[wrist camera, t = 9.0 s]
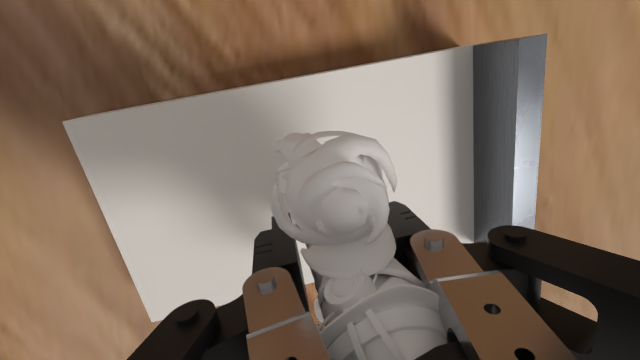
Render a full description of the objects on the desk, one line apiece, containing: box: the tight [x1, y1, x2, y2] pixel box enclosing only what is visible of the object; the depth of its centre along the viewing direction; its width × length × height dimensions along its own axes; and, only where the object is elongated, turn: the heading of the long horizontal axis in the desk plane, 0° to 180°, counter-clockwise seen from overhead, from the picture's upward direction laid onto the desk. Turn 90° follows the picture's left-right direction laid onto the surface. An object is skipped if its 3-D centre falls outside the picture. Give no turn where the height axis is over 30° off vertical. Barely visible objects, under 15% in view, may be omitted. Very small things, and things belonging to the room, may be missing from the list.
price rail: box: [473, 34, 547, 243], centre depth 16 cm, size 11×1×3 cm, turn 10°
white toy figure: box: [271, 131, 447, 360], centre depth 10 cm, size 9×4×12 cm, turn 14°
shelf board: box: [62, 42, 489, 322], centre depth 18 cm, size 11×20×3 cm, turn 100°
